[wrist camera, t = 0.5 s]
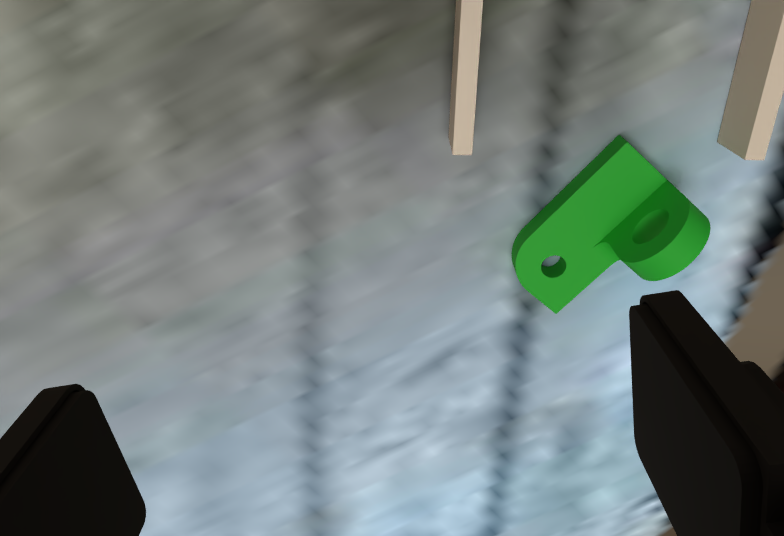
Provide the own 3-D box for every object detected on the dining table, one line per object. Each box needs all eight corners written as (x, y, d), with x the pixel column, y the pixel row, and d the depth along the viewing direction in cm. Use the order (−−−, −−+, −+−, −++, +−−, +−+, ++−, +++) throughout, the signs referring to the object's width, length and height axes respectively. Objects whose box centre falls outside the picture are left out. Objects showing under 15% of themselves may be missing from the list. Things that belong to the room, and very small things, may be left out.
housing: (458, -57, 39) (465, -57, 35) (784, -52, 39) (827, -51, 35) (448, 137, 44) (453, 156, 40) (734, 142, 44) (767, 162, 40)
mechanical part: (618, 133, 44) (660, 171, 37) (675, 188, 46) (725, 234, 39) (494, 254, 49) (510, 309, 41) (550, 300, 50) (575, 360, 43)
